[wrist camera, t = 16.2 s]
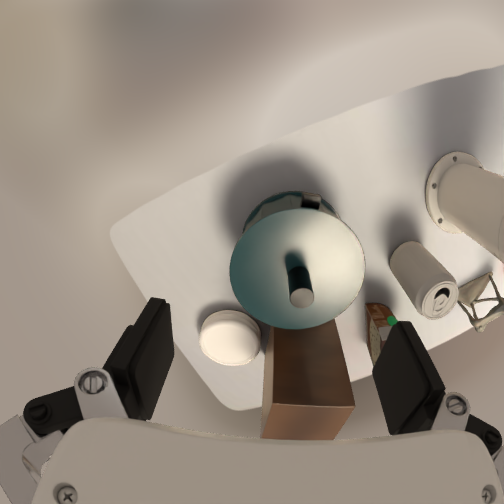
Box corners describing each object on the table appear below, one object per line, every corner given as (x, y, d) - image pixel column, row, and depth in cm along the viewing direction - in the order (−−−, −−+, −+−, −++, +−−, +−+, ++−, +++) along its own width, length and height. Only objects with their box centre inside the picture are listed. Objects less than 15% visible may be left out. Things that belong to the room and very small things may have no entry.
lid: (379, 219, 29) (396, 236, 24) (343, 331, 35) (351, 358, 31) (236, 197, 29) (229, 211, 25) (225, 318, 36) (219, 345, 31)
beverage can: (427, 239, 39) (467, 277, 28) (419, 276, 41) (452, 320, 30) (391, 238, 39) (427, 279, 28) (385, 277, 42) (413, 324, 31)
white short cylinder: (191, 318, 47) (186, 331, 44) (245, 300, 45) (243, 314, 42) (219, 358, 51) (216, 372, 48) (270, 344, 49) (269, 358, 45)
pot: (356, 190, 37) (378, 209, 29) (329, 299, 44) (339, 336, 36) (249, 173, 37) (242, 187, 29) (236, 287, 44) (228, 324, 36)
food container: (397, 342, 47) (414, 381, 38) (366, 350, 48) (379, 391, 39) (399, 287, 42) (423, 325, 33) (364, 296, 43) (382, 337, 34)
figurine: (448, 317, 44) (484, 371, 31) (449, 289, 42) (491, 343, 28) (490, 297, 42) (529, 343, 29) (493, 270, 40) (538, 315, 26)
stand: (334, 317, 45) (355, 406, 29) (319, 360, 50) (330, 444, 33) (273, 310, 46) (272, 403, 29) (264, 355, 50) (259, 442, 33)
